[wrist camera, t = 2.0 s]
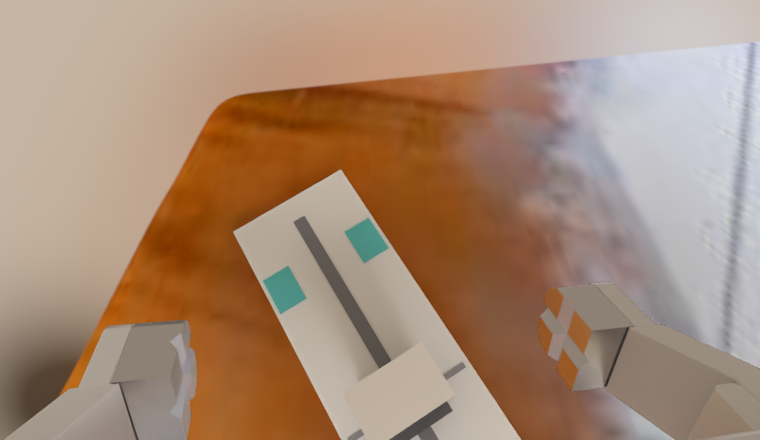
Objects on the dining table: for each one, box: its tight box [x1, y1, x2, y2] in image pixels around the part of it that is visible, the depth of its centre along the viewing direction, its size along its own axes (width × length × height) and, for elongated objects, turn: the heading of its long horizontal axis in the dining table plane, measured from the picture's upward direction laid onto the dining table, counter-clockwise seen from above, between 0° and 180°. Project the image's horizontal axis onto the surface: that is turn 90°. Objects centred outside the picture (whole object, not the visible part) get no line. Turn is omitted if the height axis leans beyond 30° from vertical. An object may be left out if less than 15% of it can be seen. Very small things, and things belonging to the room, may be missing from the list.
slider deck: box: [233, 169, 521, 440], centre depth 36 cm, size 24×10×2 cm, turn 31°
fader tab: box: [342, 342, 455, 440], centre depth 27 cm, size 4×4×11 cm
